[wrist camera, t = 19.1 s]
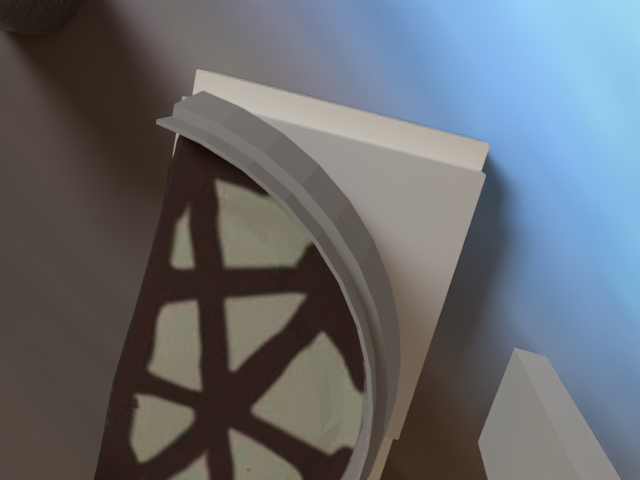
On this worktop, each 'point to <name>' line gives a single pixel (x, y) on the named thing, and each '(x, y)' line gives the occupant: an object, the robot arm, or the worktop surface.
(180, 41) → the worktop surface
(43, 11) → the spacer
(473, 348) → the worktop surface
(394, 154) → the scale
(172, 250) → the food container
